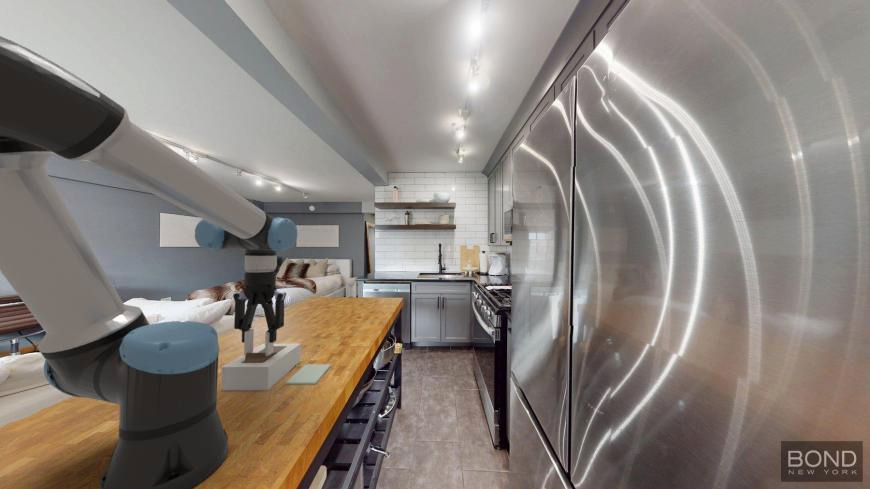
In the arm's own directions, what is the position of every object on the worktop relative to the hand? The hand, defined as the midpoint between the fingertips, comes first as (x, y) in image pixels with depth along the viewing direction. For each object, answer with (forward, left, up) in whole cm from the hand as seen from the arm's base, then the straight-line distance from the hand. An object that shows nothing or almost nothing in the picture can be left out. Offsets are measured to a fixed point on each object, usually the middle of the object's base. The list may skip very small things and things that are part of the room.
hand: (258, 353), depth 77 cm
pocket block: (+3, 0, -7) cm, 8 cm away
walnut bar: (+3, 0, -4) cm, 5 cm away
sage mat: (+3, -13, -7) cm, 15 cm away
